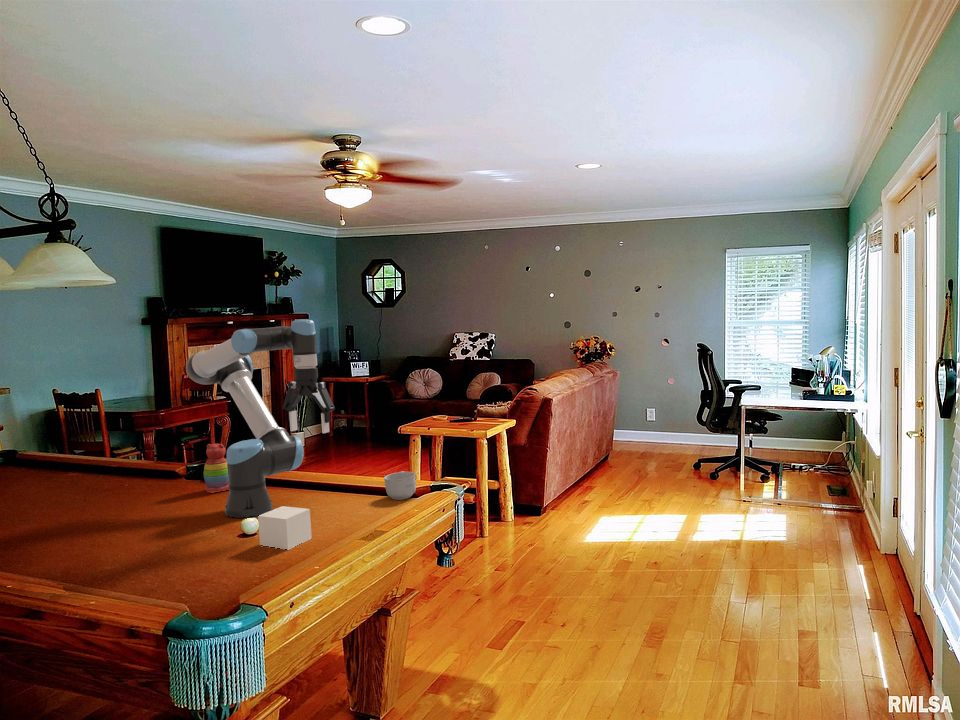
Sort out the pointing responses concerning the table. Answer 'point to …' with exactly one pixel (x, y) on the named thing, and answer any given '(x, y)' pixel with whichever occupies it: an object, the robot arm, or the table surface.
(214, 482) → the stacking bear
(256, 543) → the table surface
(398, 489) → the teacup
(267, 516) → the white gift box
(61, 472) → the table surface
